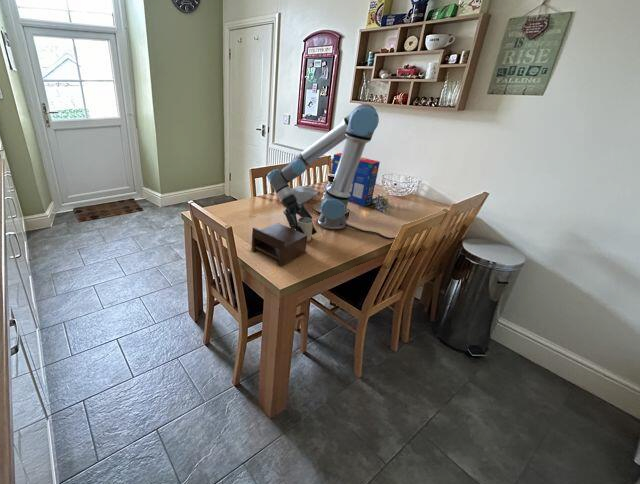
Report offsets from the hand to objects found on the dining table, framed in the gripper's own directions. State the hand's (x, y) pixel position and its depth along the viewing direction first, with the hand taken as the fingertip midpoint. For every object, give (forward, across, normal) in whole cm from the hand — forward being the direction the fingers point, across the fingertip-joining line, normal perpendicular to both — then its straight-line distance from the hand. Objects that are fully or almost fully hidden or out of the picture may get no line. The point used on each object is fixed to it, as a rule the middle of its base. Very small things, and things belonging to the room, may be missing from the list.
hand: (309, 236), depth 163 cm
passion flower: (+5, -66, +2) cm, 66 cm away
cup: (-1, 0, -4) cm, 4 cm away
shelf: (-1, +20, -4) cm, 20 cm away
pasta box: (-10, -69, -14) cm, 71 cm away
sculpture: (-24, -42, -28) cm, 56 cm away
